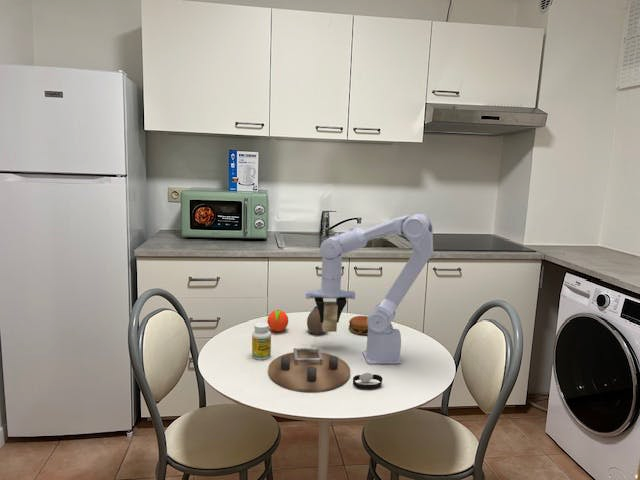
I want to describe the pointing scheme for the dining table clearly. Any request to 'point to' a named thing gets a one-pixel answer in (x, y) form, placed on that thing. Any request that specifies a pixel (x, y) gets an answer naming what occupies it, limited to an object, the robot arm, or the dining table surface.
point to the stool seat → (309, 371)
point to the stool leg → (330, 317)
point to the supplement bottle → (261, 341)
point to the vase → (314, 322)
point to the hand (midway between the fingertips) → (329, 321)
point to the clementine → (277, 320)
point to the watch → (367, 380)
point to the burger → (359, 325)
